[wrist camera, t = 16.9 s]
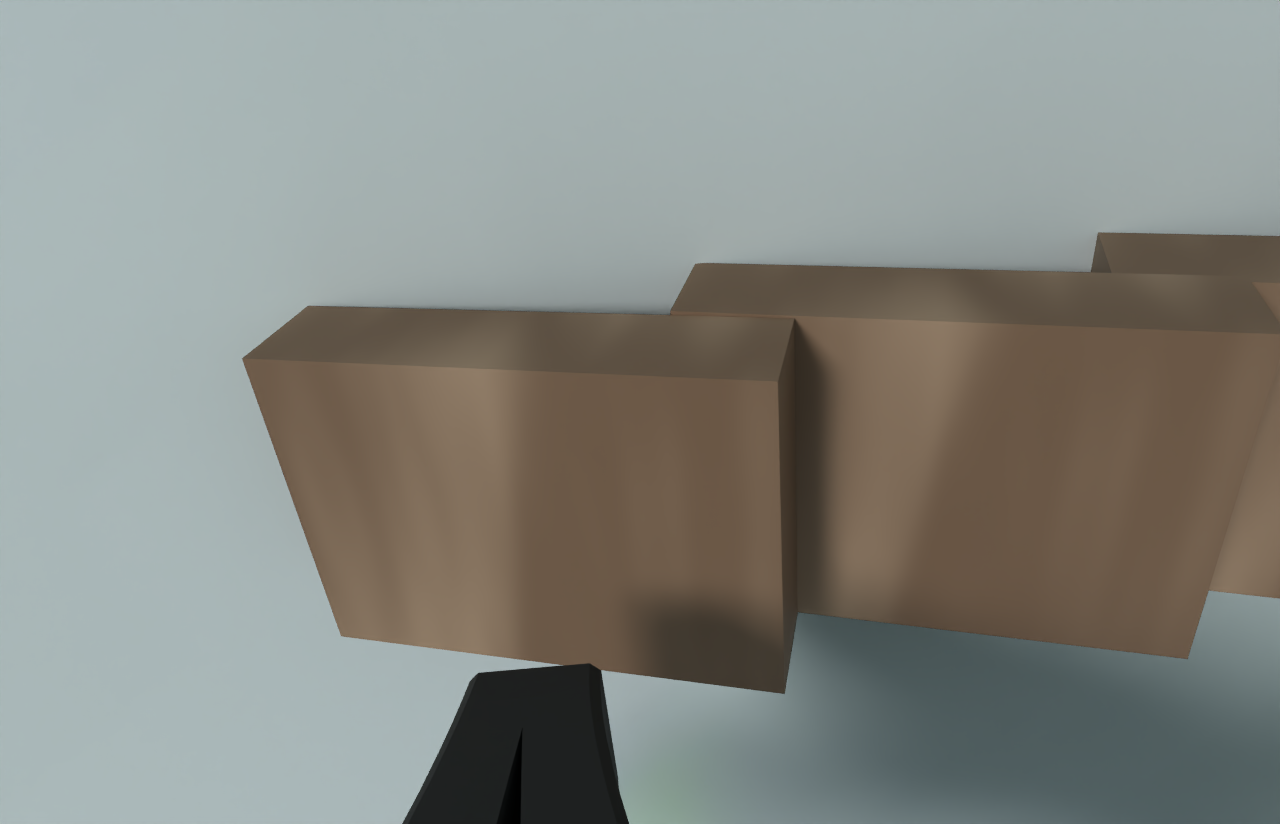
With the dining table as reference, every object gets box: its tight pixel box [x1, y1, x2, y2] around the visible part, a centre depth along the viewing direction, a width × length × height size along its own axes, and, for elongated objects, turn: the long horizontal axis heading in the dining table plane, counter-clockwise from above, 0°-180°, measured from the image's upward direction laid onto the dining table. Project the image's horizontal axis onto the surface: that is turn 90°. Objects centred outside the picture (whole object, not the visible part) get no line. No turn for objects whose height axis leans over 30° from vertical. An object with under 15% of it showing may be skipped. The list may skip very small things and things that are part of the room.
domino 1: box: [242, 306, 798, 694], centre depth 13 cm, size 2×5×7 cm
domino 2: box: [670, 263, 1280, 659], centre depth 13 cm, size 2×5×7 cm
